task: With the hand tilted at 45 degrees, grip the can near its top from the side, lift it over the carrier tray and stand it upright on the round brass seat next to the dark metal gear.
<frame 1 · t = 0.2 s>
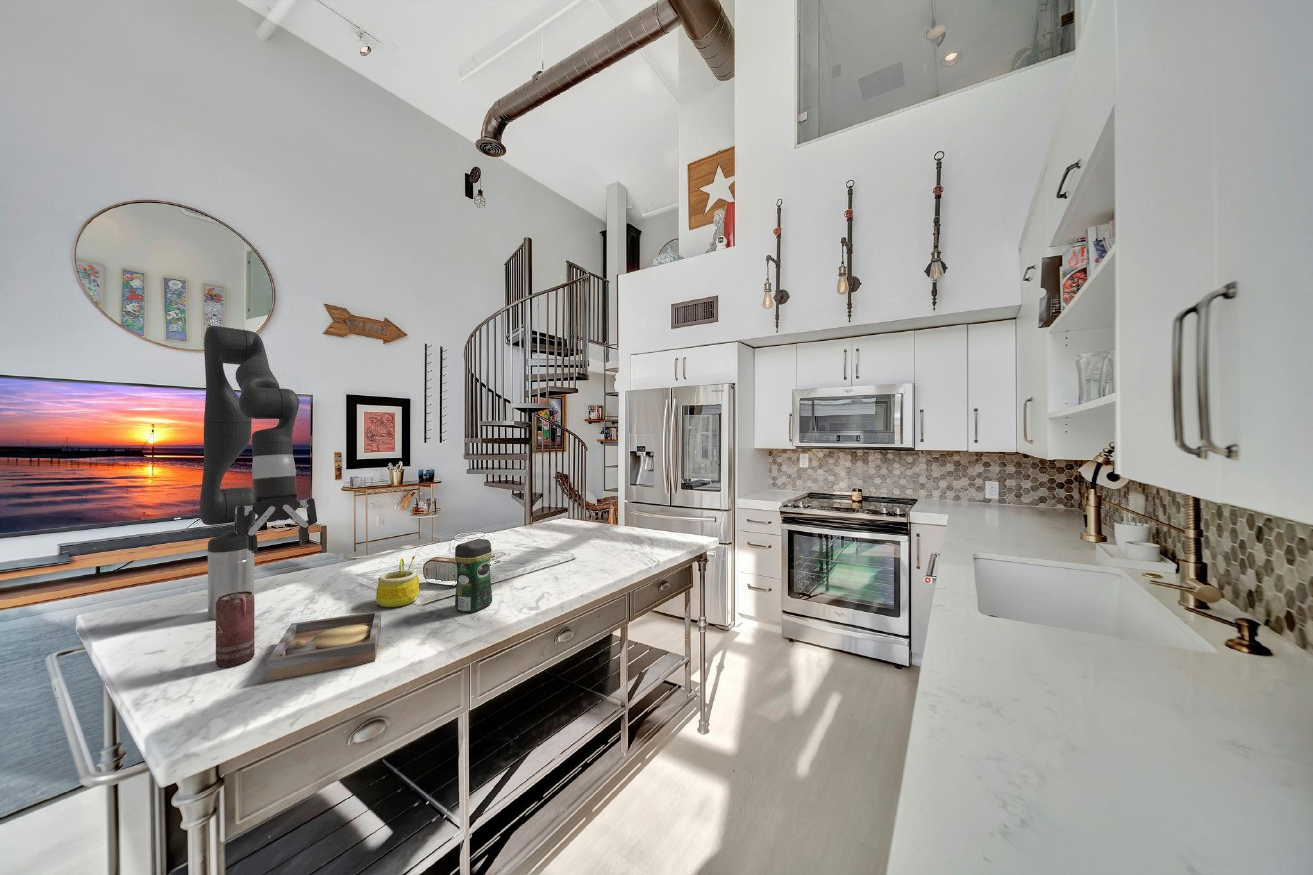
hand: (279, 548, 105), 22 cm above the countertop, tool pointing down, fingers open, 8 cm apart
coffee jar: (473, 607, 131), on the countertop
tin: (444, 585, 150), on the countertop
can: (236, 662, 99), on the countertop
carrier tray: (331, 650, 104), on the countertop
yellow pot: (401, 602, 135), on the countertop
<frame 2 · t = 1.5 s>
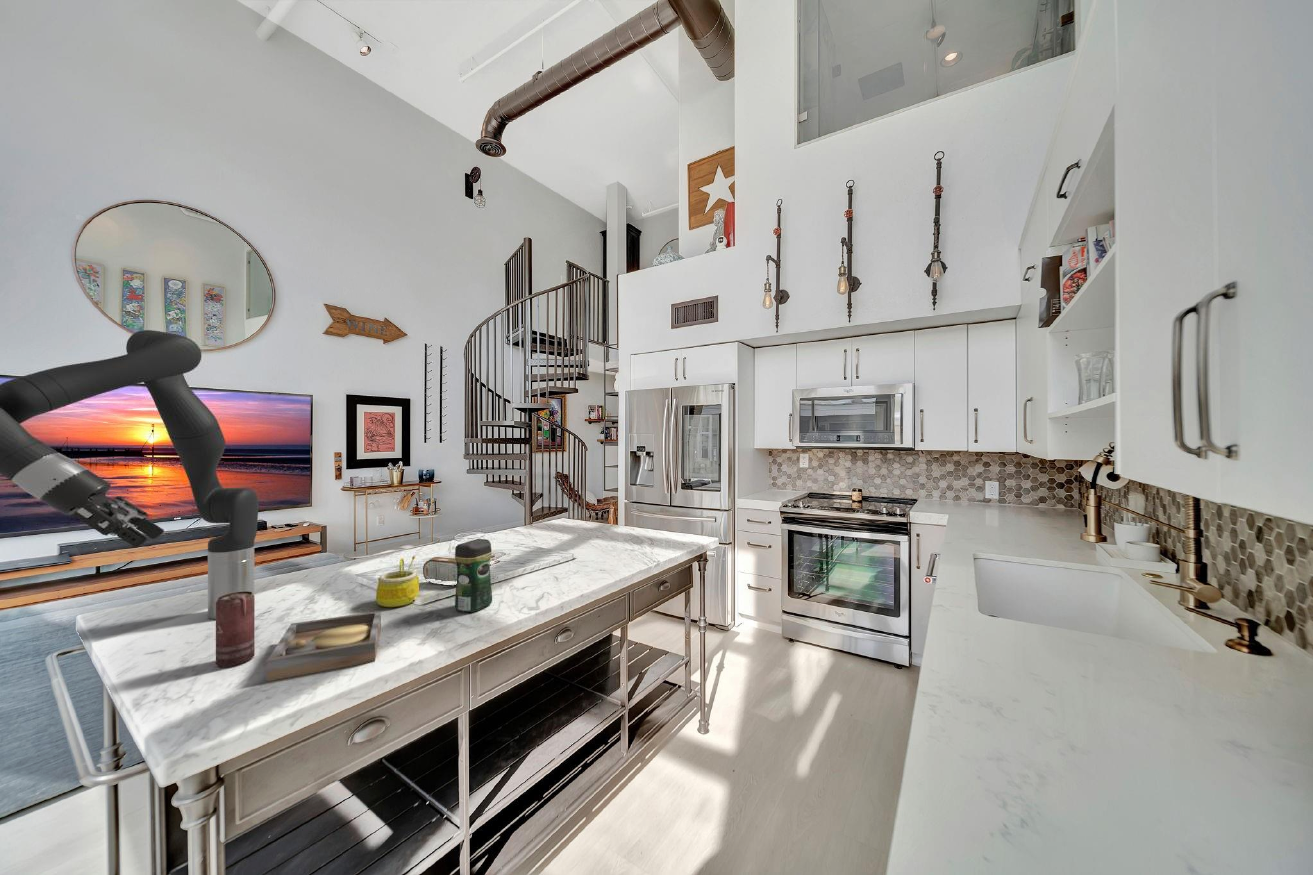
hand: (151, 539, 92), 27 cm above the countertop, tool tilted 45°, fingers open, 8 cm apart
nothing on the countertop moved.
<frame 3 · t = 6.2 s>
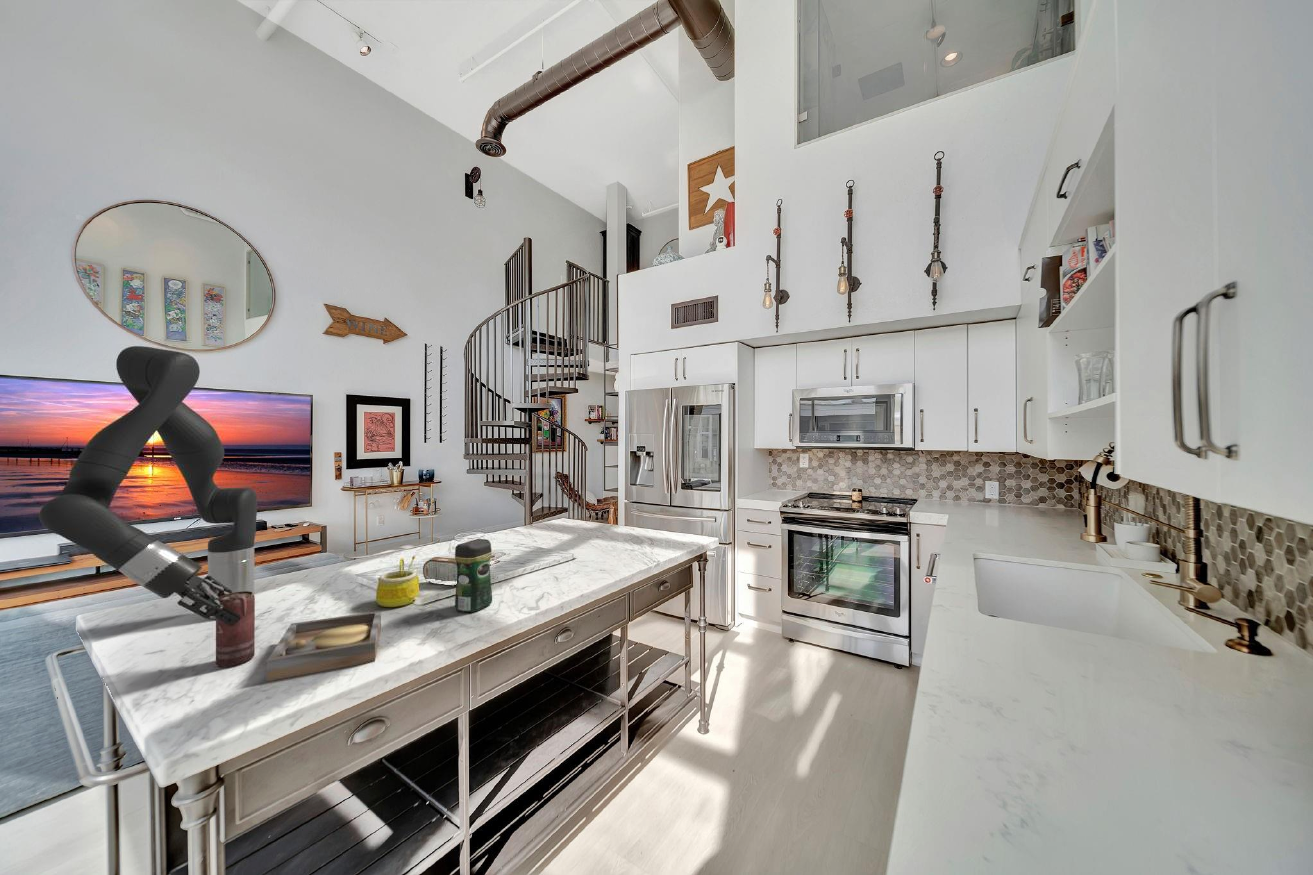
hand: (240, 616, 99), 9 cm above the countertop, tool tilted 45°, fingers closed on can, 6 cm apart
can: (236, 662, 99), on the countertop, touching gripper
everything else where it was.
when the fingers open (13 cm above the countertop, at t = 12.8 s): can stays where it is, resting on carrier tray.
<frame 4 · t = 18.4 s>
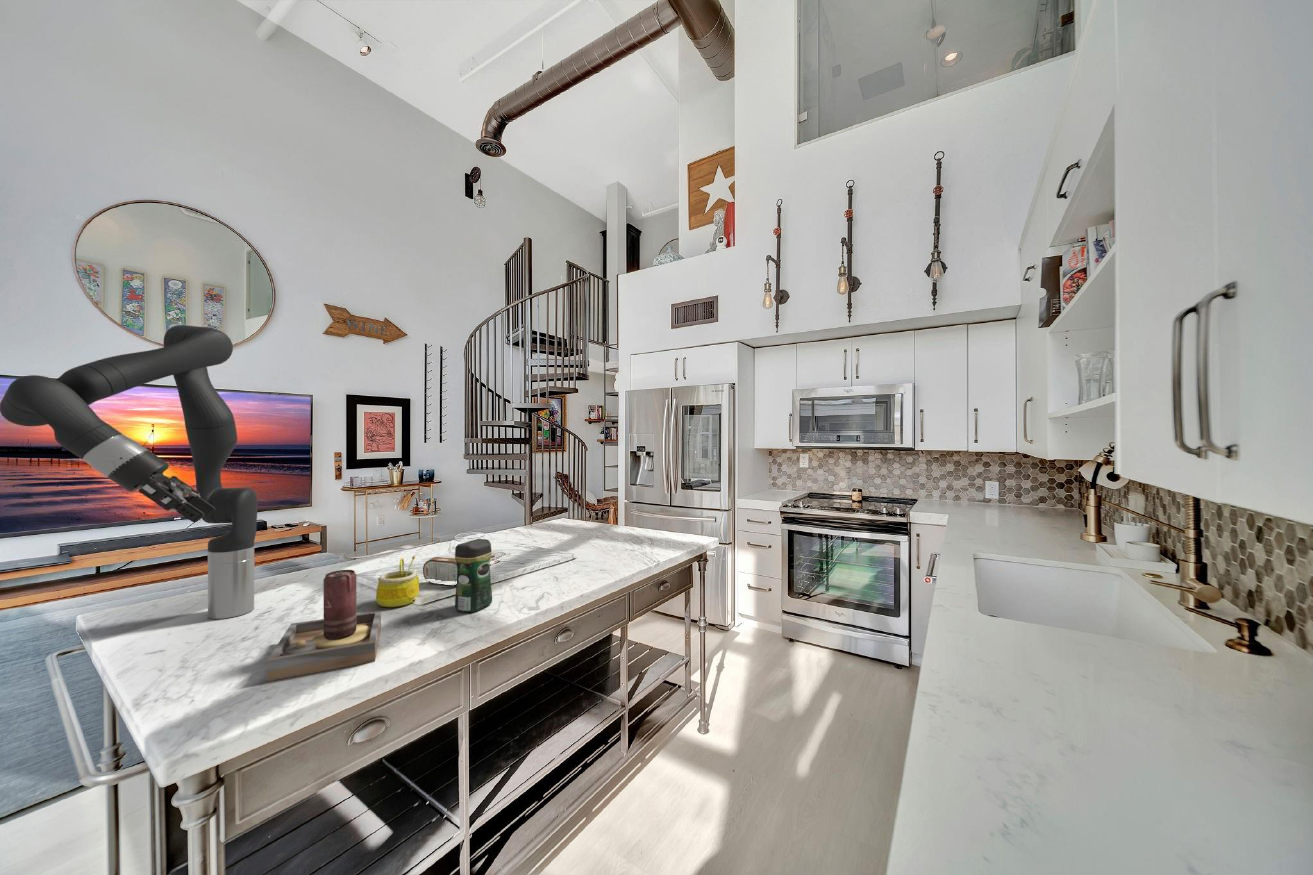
hand: (206, 515, 99), 31 cm above the countertop, tool tilted 45°, fingers open, 8 cm apart
can: (340, 635, 106), point 3 cm above the countertop, touching carrier tray
everything else where it was.
at the end: can 0.3 cm from the target spot on the carrier tray, point 2.6 cm above the carrier tray's base; can tilted 0°; the gripper is holding nothing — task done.
